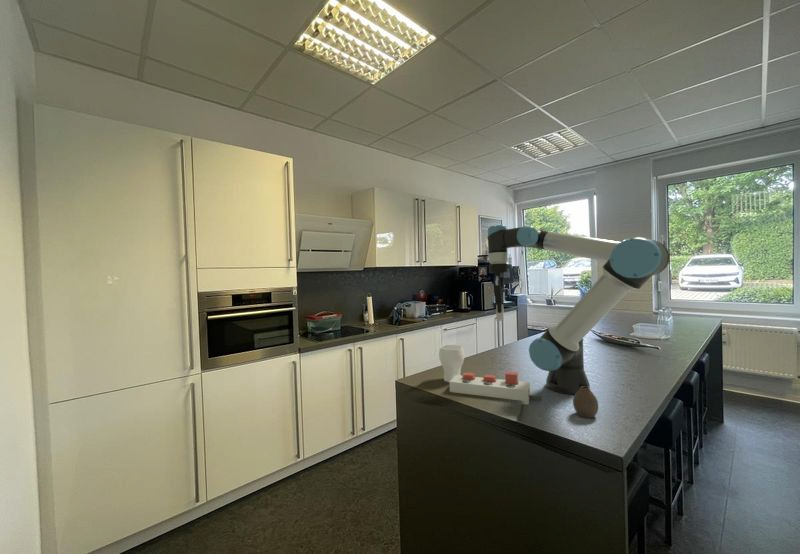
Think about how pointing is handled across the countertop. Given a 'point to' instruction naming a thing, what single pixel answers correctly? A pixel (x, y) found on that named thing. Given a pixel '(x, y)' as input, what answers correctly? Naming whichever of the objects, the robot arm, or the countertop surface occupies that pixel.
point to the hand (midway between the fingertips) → (500, 320)
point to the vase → (585, 402)
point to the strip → (493, 388)
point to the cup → (451, 360)
